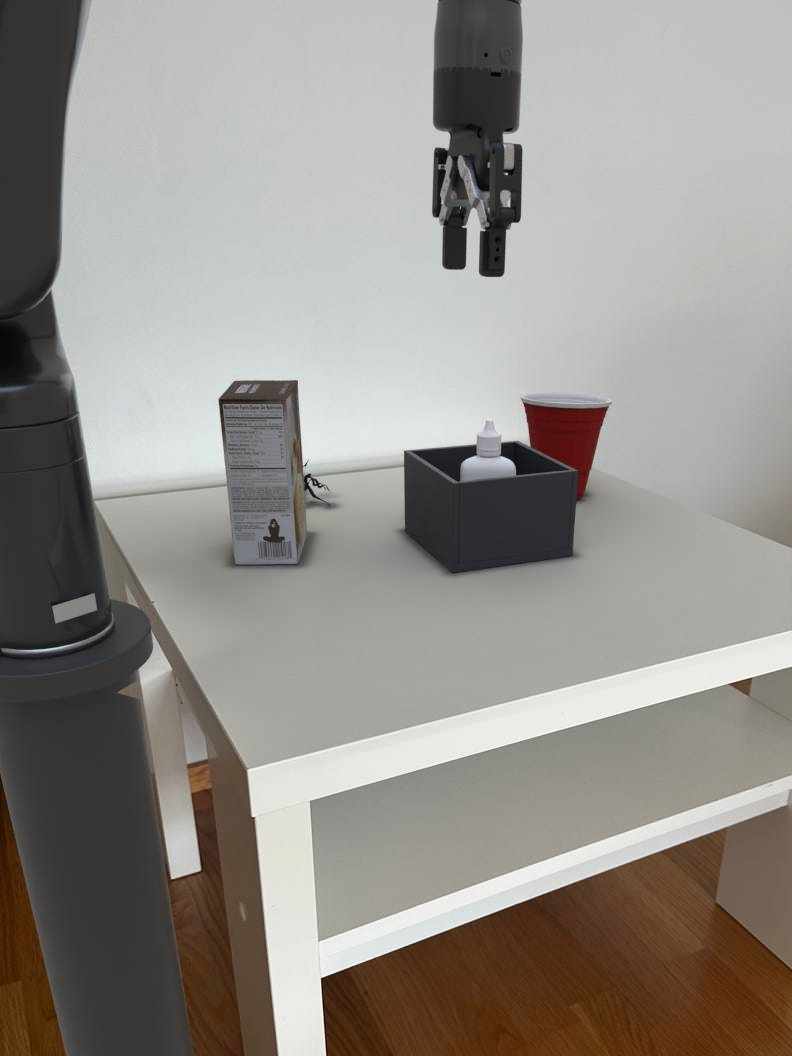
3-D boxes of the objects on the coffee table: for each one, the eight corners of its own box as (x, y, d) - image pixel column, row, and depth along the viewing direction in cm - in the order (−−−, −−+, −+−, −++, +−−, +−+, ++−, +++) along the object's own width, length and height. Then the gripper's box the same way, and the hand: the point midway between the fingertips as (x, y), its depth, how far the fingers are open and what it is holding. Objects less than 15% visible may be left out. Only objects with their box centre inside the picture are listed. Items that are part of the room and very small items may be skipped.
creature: (307, 497, 114) (250, 495, 109) (313, 453, 113) (255, 449, 107) (345, 513, 109) (287, 511, 104) (352, 467, 108) (293, 462, 102)
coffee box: (247, 534, 98) (232, 378, 91) (308, 534, 99) (299, 379, 92) (233, 566, 90) (216, 396, 83) (300, 565, 91) (289, 397, 84)
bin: (452, 573, 90) (453, 483, 86) (404, 531, 100) (403, 450, 97) (572, 555, 95) (578, 470, 91) (514, 518, 106) (517, 440, 102)
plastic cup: (607, 485, 118) (615, 389, 113) (602, 510, 109) (610, 406, 104) (522, 479, 120) (526, 384, 115) (509, 503, 110) (513, 400, 105)
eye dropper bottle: (470, 526, 100) (473, 413, 95) (519, 534, 98) (524, 419, 93) (452, 537, 96) (454, 421, 91) (502, 546, 94) (507, 427, 89)
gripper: (406, 73, 84) (407, 267, 91) (471, 54, 72) (465, 279, 79) (483, 80, 87) (477, 268, 94) (556, 63, 75) (544, 279, 82)
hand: (472, 272), depth 86 cm, fingers open, 8 cm apart
